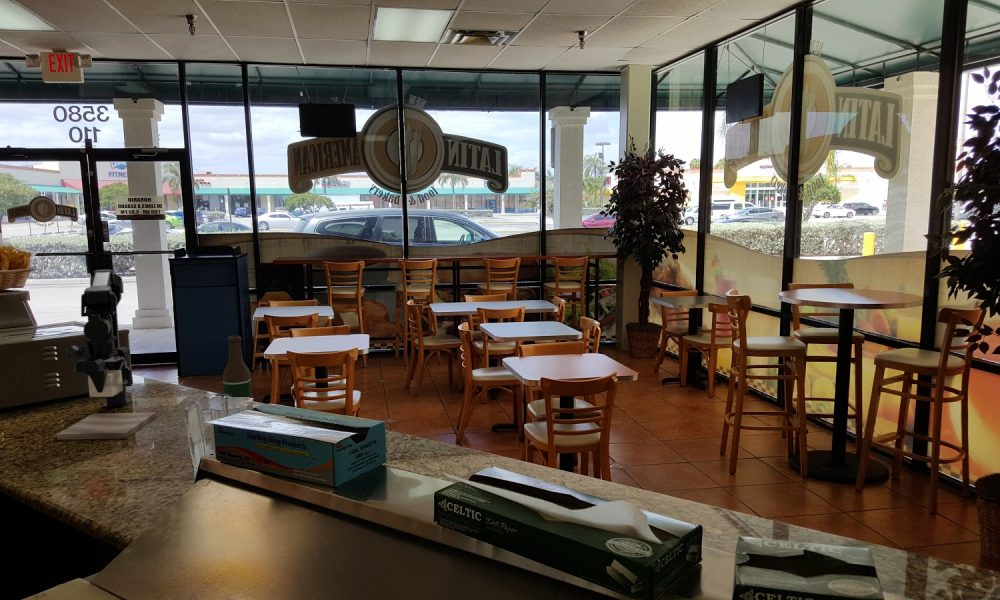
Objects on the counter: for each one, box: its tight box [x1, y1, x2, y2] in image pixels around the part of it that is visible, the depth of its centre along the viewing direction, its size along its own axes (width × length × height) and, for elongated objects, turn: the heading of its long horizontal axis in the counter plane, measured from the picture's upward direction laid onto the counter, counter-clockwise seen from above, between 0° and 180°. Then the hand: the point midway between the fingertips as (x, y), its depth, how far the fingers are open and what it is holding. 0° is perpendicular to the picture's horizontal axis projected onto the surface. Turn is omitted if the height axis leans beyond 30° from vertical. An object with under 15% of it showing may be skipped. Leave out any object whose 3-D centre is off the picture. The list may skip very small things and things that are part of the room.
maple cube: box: [87, 370, 123, 398], centre depth 189 cm, size 6×6×6 cm
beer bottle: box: [222, 335, 253, 399], centre depth 200 cm, size 8×8×24 cm
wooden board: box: [56, 412, 157, 441], centre depth 191 cm, size 18×18×2 cm
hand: (106, 389), depth 190 cm, fingers closed on maple cube, 6 cm apart
